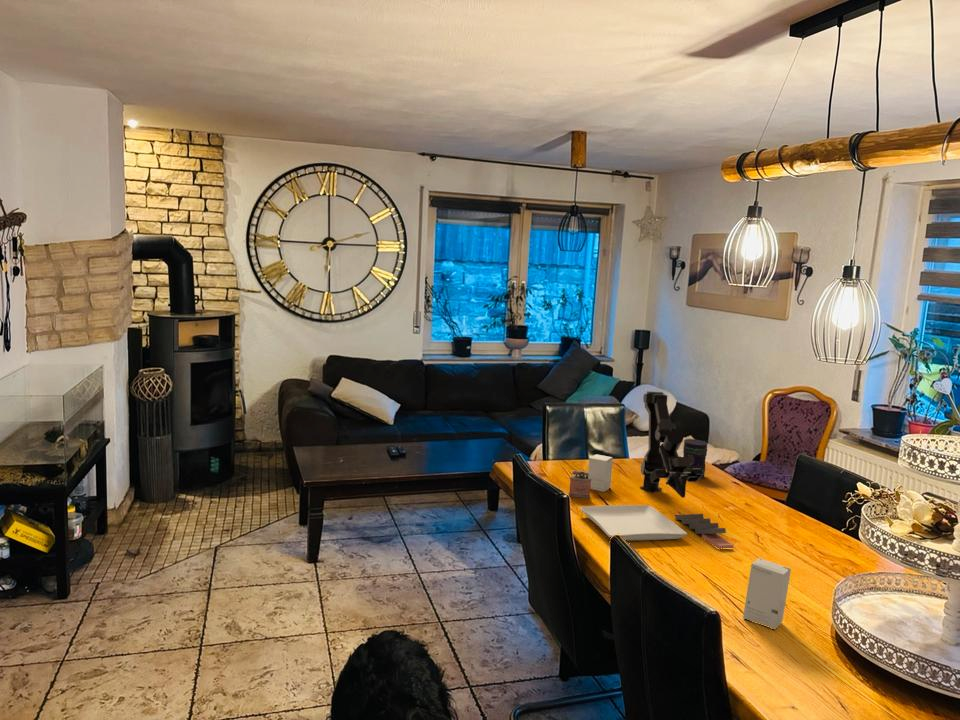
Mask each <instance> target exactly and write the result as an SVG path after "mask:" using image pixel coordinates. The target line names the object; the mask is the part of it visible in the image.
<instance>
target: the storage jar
mask: <svg viewBox="0 0 960 720" xmlns="http://www.w3.org/2000/svg"><path fill="white" fill-rule="evenodd" d="M682 449H683V451H682V453H683V456H682V457H686V456H688V455H692V456H693V458H694V464H691V466H687V467H686V468H687V469H686V470H684V472H688V471H689V470H690V469H691V468H700V469H702V471H703V473H704V475H703V476H702V477H701V478H700V479H699V480H701V479H704V478H705V473H706V459H707V455H708V442H707V441H705V440H702V439H694V438H686V439H683V447H682Z"/></svg>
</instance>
